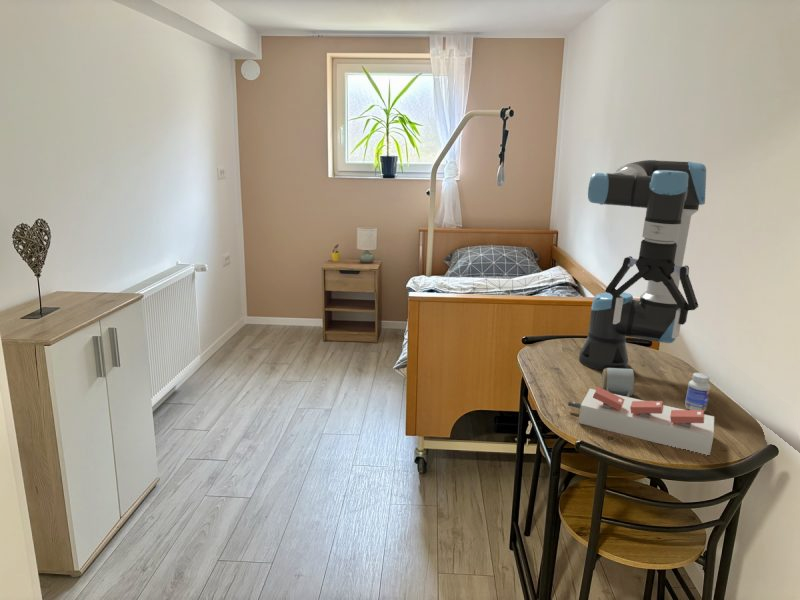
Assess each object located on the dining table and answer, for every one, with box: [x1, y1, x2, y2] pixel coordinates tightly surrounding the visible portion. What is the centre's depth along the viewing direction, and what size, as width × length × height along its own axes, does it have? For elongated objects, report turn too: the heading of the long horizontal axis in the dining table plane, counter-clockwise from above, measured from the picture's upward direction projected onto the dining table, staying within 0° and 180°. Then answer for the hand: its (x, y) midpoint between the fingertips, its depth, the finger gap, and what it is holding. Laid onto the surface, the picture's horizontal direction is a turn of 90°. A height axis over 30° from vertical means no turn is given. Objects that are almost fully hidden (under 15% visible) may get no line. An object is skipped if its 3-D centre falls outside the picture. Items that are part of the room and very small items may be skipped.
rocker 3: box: [670, 409, 705, 423], centre depth 140 cm, size 4×7×2 cm, turn 62°
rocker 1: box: [593, 386, 625, 411], centre depth 148 cm, size 4×7×2 cm, turn 62°
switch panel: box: [567, 388, 715, 456], centre depth 148 cm, size 12×34×6 cm, turn 62°
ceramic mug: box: [601, 368, 635, 397], centre depth 166 cm, size 11×8×8 cm
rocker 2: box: [630, 400, 664, 414], centre depth 144 cm, size 4×7×2 cm, turn 62°
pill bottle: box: [684, 372, 712, 412], centre depth 160 cm, size 5×5×10 cm
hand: (644, 329), depth 138 cm, fingers open, 13 cm apart
